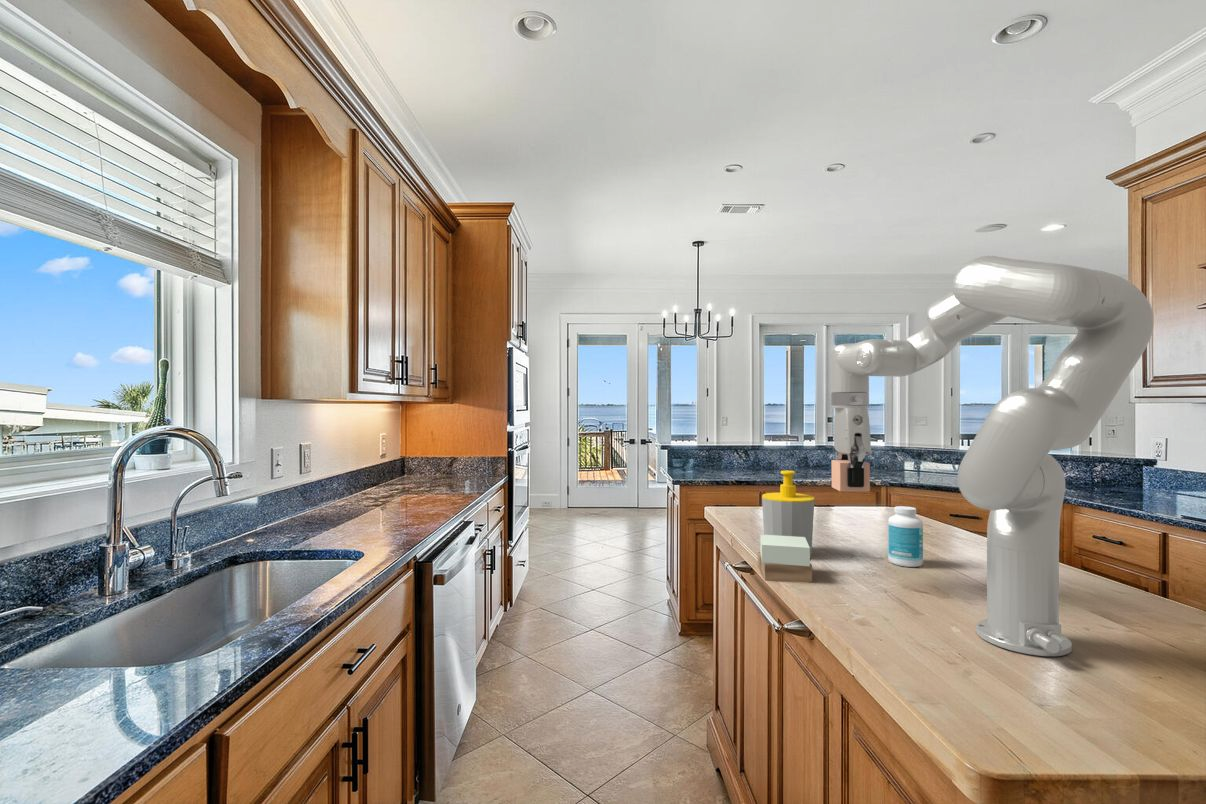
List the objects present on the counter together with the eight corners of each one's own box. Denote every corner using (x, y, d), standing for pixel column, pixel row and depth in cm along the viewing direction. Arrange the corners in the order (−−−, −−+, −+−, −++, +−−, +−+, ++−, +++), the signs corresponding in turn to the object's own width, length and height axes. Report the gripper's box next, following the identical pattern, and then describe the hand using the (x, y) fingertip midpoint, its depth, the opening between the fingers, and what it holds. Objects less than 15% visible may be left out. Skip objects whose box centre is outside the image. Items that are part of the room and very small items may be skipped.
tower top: (809, 566, 123) (809, 547, 123) (761, 562, 125) (761, 544, 125) (804, 554, 132) (804, 537, 132) (760, 551, 135) (760, 534, 135)
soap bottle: (819, 551, 148) (819, 470, 148) (808, 563, 137) (808, 475, 137) (769, 544, 155) (769, 467, 155) (755, 555, 144) (755, 472, 144)
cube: (869, 491, 119) (869, 463, 119) (840, 491, 120) (840, 462, 120) (859, 487, 125) (859, 460, 125) (831, 487, 126) (831, 460, 126)
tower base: (812, 583, 123) (812, 565, 123) (765, 582, 124) (764, 564, 124) (801, 570, 133) (801, 553, 133) (757, 568, 134) (757, 552, 134)
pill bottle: (927, 569, 132) (927, 511, 132) (893, 567, 134) (893, 510, 134) (916, 560, 140) (916, 505, 140) (884, 558, 141) (884, 504, 141)
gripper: (883, 401, 113) (884, 491, 113) (854, 401, 131) (854, 479, 131) (844, 401, 114) (845, 490, 114) (820, 401, 131) (820, 479, 131)
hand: (850, 483), depth 122 cm, fingers closed on cube, 6 cm apart
